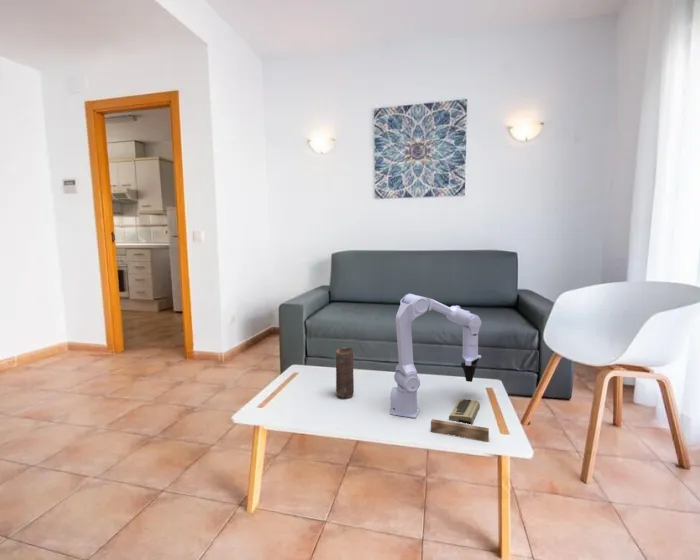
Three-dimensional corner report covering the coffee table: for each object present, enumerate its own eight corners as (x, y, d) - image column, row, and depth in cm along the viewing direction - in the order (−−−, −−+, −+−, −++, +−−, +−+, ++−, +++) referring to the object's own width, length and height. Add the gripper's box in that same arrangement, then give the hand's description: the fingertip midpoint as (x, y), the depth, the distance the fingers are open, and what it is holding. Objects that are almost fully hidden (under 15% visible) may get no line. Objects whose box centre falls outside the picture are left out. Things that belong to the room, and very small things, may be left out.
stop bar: (430, 431, 125) (430, 421, 124) (432, 428, 127) (431, 419, 126) (488, 441, 118) (488, 431, 117) (488, 438, 119) (488, 428, 119)
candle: (357, 396, 155) (356, 349, 153) (343, 401, 151) (342, 352, 149) (346, 391, 161) (345, 345, 159) (332, 395, 157) (331, 348, 155)
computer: (458, 404, 146) (458, 396, 146) (480, 408, 143) (480, 399, 142) (448, 421, 133) (448, 412, 132) (472, 426, 129) (472, 417, 128)
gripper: (479, 349, 137) (479, 385, 139) (482, 340, 150) (482, 373, 152) (459, 348, 140) (459, 383, 141) (464, 338, 153) (464, 371, 155)
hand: (470, 377), depth 147 cm, fingers open, 7 cm apart
